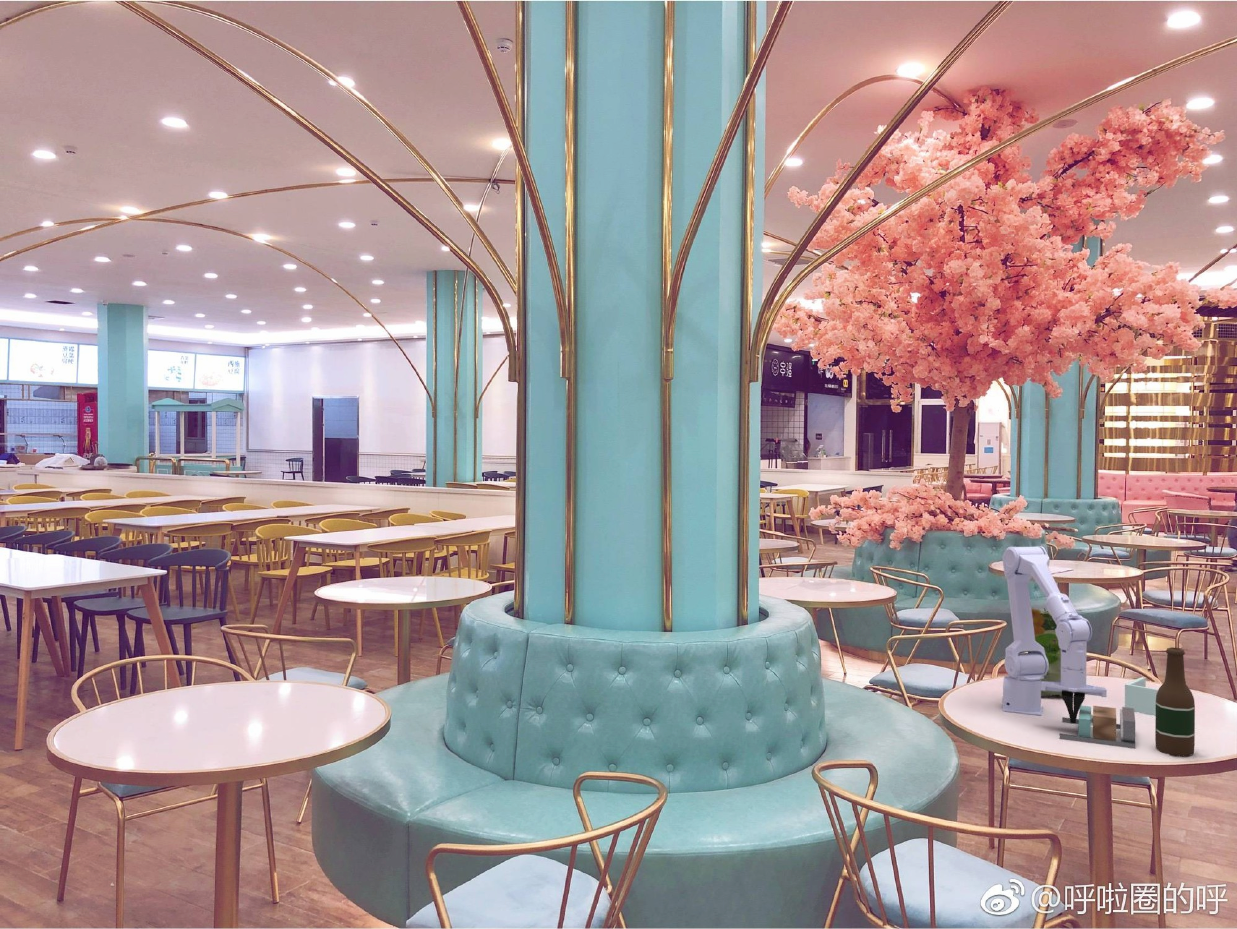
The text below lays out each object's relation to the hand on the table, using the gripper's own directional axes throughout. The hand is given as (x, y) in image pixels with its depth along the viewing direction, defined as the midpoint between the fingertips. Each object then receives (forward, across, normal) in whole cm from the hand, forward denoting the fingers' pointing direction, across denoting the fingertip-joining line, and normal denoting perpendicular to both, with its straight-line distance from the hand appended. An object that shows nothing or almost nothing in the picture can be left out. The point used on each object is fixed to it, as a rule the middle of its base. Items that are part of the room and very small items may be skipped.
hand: (1073, 722), depth 229 cm
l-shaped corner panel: (+3, +19, +32) cm, 37 cm away
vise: (+2, +4, 0) cm, 5 cm away
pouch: (+3, -8, +35) cm, 36 cm away
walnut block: (+2, +7, 0) cm, 7 cm away
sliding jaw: (+2, +3, 0) cm, 3 cm away
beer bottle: (+3, +21, -6) cm, 22 cm away
